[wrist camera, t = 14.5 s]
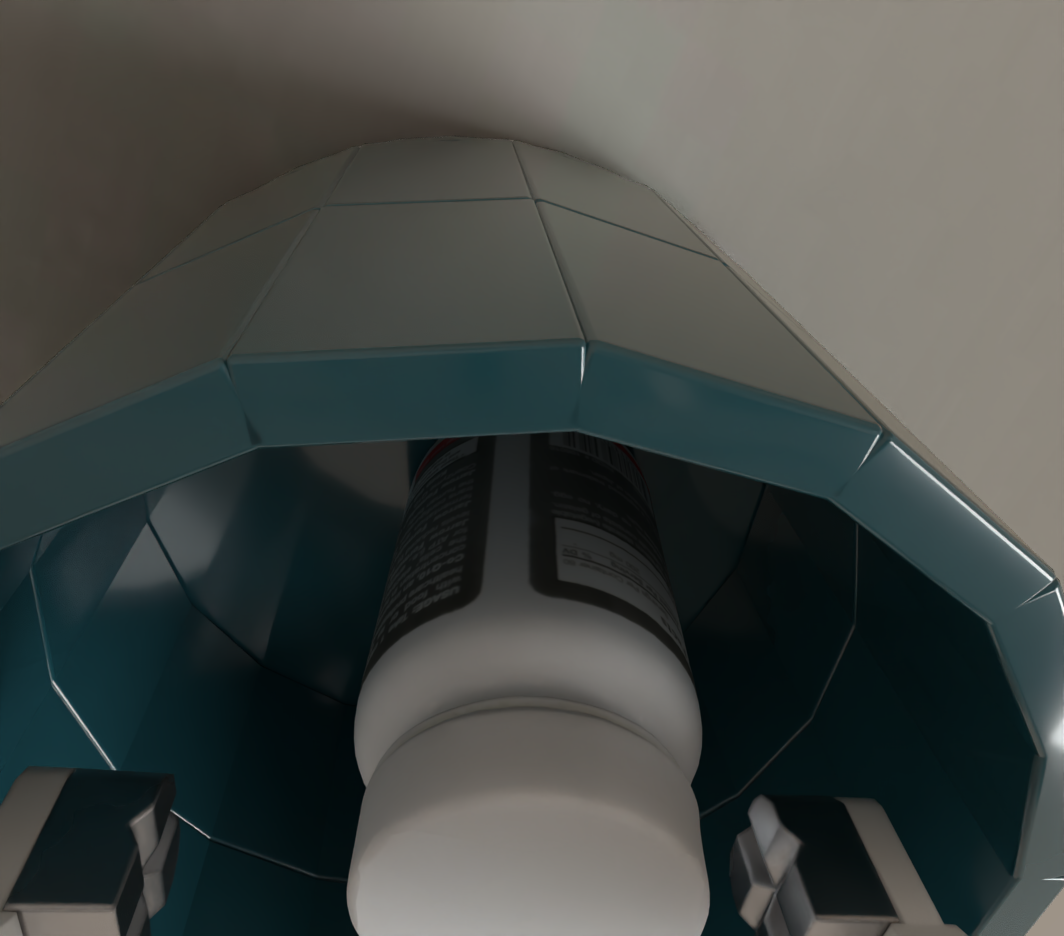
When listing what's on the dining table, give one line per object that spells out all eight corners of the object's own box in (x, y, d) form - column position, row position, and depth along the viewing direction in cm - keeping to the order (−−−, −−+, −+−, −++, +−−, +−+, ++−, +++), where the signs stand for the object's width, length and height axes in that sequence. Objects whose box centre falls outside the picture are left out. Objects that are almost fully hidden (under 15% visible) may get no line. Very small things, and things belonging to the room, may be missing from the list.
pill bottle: (436, 608, 17) (364, 1042, 10) (386, 413, 15) (245, 799, 8) (656, 585, 17) (745, 1019, 10) (641, 382, 15) (741, 755, 7)
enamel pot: (891, 193, 14) (1426, 442, 6) (693, 734, 21) (833, 1176, 13) (67, 63, 12) (-636, 194, 4) (143, 708, 19) (-78, 1211, 11)
